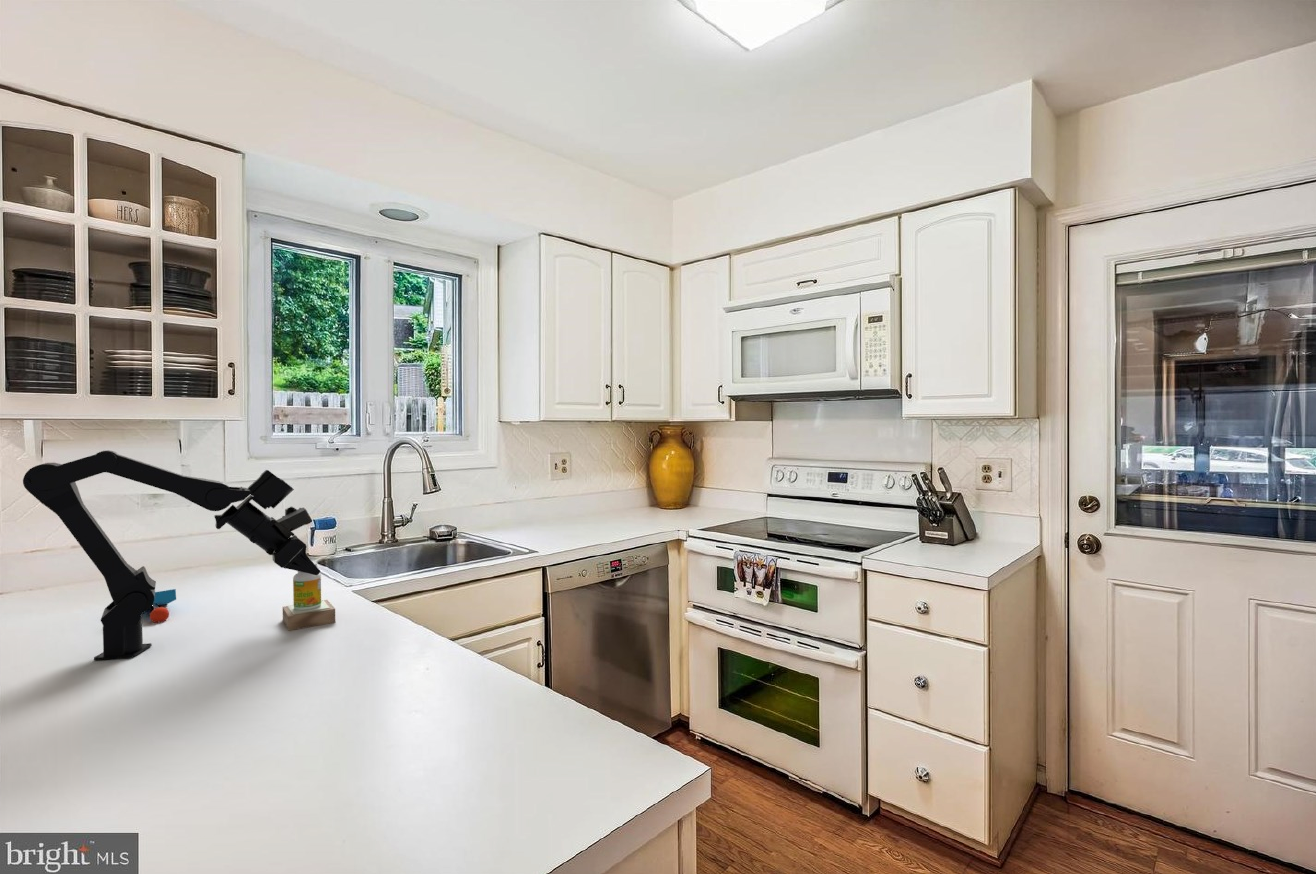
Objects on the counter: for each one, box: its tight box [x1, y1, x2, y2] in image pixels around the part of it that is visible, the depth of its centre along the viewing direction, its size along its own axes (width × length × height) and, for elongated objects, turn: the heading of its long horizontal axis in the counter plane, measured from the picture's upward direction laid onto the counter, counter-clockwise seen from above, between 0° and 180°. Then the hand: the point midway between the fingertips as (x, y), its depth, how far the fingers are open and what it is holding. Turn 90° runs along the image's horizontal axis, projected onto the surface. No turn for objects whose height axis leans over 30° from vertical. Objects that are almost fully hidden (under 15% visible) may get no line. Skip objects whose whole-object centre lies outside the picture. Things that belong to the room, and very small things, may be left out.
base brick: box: [282, 599, 336, 631], centre depth 139 cm, size 9×9×3 cm
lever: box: [149, 588, 177, 623], centre depth 145 cm, size 7×7×18 cm
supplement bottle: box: [292, 561, 322, 610], centre depth 139 cm, size 5×5×10 cm
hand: (315, 569), depth 140 cm, fingers open, 9 cm apart
